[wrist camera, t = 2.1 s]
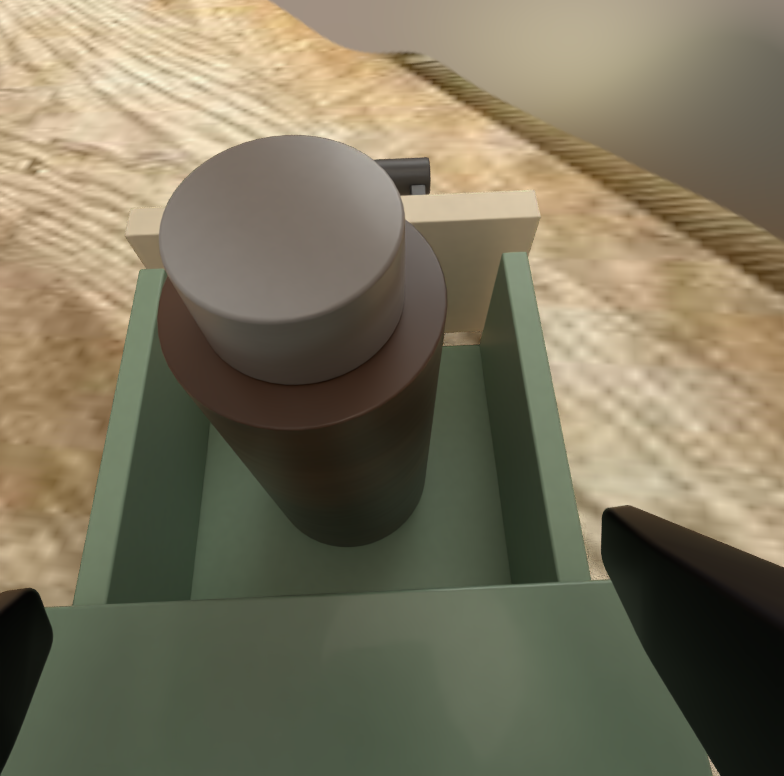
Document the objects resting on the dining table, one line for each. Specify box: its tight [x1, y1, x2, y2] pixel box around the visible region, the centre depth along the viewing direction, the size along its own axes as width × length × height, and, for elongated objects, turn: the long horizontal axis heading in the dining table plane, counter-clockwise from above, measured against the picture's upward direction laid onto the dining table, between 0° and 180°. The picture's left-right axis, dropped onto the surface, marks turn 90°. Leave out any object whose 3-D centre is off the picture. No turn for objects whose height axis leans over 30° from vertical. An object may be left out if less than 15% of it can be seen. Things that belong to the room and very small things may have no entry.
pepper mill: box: [157, 135, 448, 547], centre depth 14 cm, size 5×5×12 cm
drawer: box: [72, 157, 591, 606], centre depth 19 cm, size 18×13×7 cm
